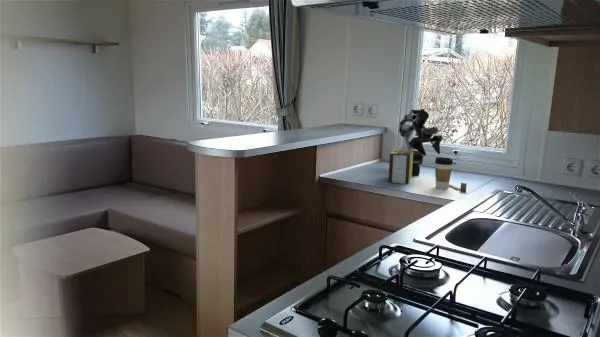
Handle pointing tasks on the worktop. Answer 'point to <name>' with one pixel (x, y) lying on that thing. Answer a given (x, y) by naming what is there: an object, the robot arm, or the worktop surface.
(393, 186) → the worktop surface
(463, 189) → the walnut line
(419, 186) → the worktop surface
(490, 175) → the worktop surface
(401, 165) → the protein box
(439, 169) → the coffee cup
